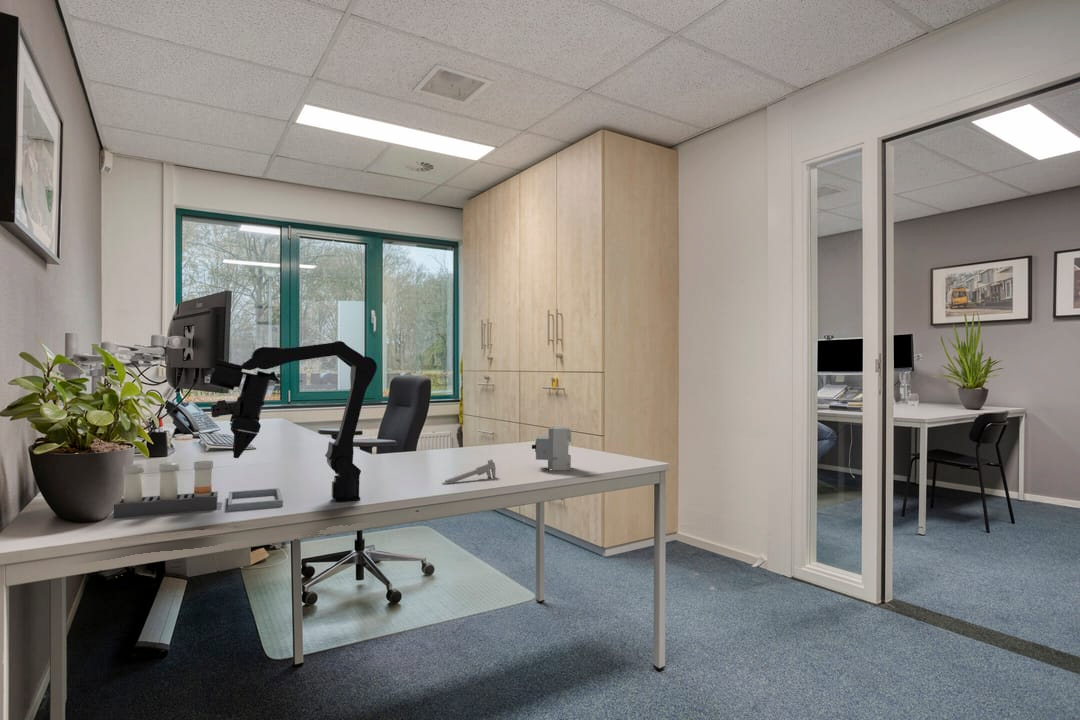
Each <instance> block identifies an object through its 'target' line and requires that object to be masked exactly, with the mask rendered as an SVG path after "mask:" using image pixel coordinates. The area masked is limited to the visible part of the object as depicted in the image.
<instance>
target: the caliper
mask: <svg viewBox="0 0 1080 720" xmlns="http://www.w3.org/2000/svg"><path fill="white" fill-rule="evenodd" d="M484 474H486V475H487V478H489V477H491V478H492V476H495V477H496V464H495V461H493V459H489V460H487V463H485V464H483V465H479V466H476V467H475V469H472V470H469V471H466V472H464V473H461V474H457V475H455V476H453V477H450V478H447V479H445V480H444V481H443V482H442V483H441V484H442V485H449V483H451V484H454V483H457V482H459V481H462V480H465V479H468V478H469V477H472V476H476V475H477V476H478V477H479V476H481V475H484Z"/></svg>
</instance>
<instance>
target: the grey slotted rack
mask: <svg viewBox="0 0 1080 720" xmlns="http://www.w3.org/2000/svg"><path fill="white" fill-rule="evenodd" d="M218 494H219V491H212V492H211V496H210V497H197V498H194V492H191V493H179V494H178V499H171V500H160V495H152V496H149V495H148V496H142V502H132V503H123V498H118V499H117V500H116V501H115V502H114V504H113V512H112V513H111V514H110V516H109V517H107V519H106V520H107V521H108V520H118V519H131V518H142V517H154V516H164V515H165V516H166V515H176V514H177V515H178V514H188V513H201V512H210V511H211V512H212V511H222V507H223V501H221V502H218V499H219V498H218V497H219V495H218Z"/></svg>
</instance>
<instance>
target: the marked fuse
mask: <svg viewBox="0 0 1080 720" xmlns="http://www.w3.org/2000/svg"><path fill="white" fill-rule="evenodd" d="M213 467H214V461H212V460H199V461H195V462H193V470H194V482H193V483H194V484H193V485H194V486H193V491H194V492H193V493H194V498H197V497H210V496H211V492H213V491H212V490H213V487H212V485H213V484H212V481H213V480H212V477H213V476H212V475H213Z"/></svg>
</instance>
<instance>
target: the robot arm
mask: <svg viewBox="0 0 1080 720" xmlns="http://www.w3.org/2000/svg"><path fill="white" fill-rule="evenodd" d="M334 356H335V357H337V358H338V359H339V360H341V361H342V362H343V363H345V365H347V366H348V367H350V376H349V377H350V378H349V380H350V388H349V392H348V396H347V399H346V400H347V401H346V403H345V408H344V411H343V416H342V419H341V423H340V425H339V431H338V434H337V437H336V439H335V440H334V441H333V442H332V441H329V442H328V445H327V452H326V453H325V455H324V456H325V458H326V463H327V465H328V466H329V468H331V470H332V471H333V472H334V473H335V475H334V476H333V481H331V497H332V499H333V500H334V501H335V502H349V501H359V500H361V496H360V478H361V477H360V474H361V472H362V470H361V469H360V468H359V467H357V465H355V464H354V440H355V439H354V438H355V434H356V431H357V426H358V422H359V418H360V415H361V410H362V407H363V404H364V399H365V395H366V393H367V389H368V387H369V386H370V384H371V383H372V381H373V380H374V377H375V376H376V375H375V374H376V372H377V370H378V365H377V362H376V361H375V359H373V358H372V357H370V356H364V355H362V354H361V353H360V352H358V351H356V350H355V349H353V348H352V347H350V346H348V345H347V343H346V342H344V341H341V340H336V341H334V342H326V343H320V344H311V345H305V346H304V345H303V346H296V347H277V346H274V347H273V346H272V347H271V346H263V347H262V346H261V347H258V348H256V349H255V350H254V351H253V352H252V354H251V356H250V358H249V359H248V360H246V361H245V362H242V364H237V363H233V362H227V361H226V360H223V359H219V358H218V359H217V360H216V363H215V367H214V371H212V373H211V377H210V380H209V384H208V386H209V387H216V388H218V389H219V388H220V389H225V390H230V391H234V389H235V388H240V387H241V383H242V380H243V377H244V375H245V377H244V380H243V384H242V387H241V391H240V395H239V396H237V398H236V400H235V401H226V399H221V400H217V401H216V402H215V403H210V411H211V418H219V417H220V416H221V417H222V416H230V419H229V421H230V422H229V425H230V431H231V433H232V434H233V443H232V444H233V446H232V453H233V459H239V458H240V456H241V455H242V454H243V453H244V452H245V450H246V449H247V448H248V446H250V444H251V443H252V441H254V439H255V438H256V437H257V436H258V434H259V433H260V431H261V423H260V419H261V417H260V416H261V412H262V408H263V406H264V404H265V400H266V396H267V392H268V388H269V386H270V381H271V382H272V381H273V382H275V383H276V382H279V378H278V377H277V375H276V373H275V371H271V372H270V373H269V372H266V371H265V372H264V371H260V370H270V369H273V368H276V367H279V366H280V367H281V366H282V365H285V364H289V363H291V362H292V363H293V362H299V361H306V360H312V359H320V358H326V357H334ZM255 369H259V370H257V372H256V374H254V373H250V372H246V371H252V370H255ZM243 370H246V371H243Z"/></svg>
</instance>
